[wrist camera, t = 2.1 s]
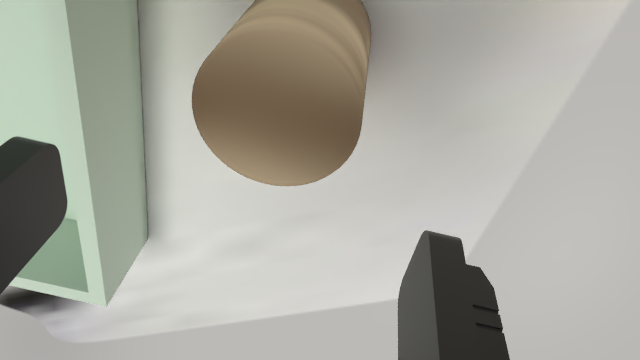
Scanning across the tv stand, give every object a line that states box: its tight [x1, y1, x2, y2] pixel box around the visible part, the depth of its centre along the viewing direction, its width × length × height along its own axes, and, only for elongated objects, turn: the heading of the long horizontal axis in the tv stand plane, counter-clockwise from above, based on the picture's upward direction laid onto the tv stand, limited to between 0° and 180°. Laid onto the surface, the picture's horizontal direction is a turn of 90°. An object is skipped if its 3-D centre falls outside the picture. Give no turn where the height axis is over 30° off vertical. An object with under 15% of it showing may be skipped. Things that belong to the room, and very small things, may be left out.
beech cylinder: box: [192, 0, 371, 186], centre depth 17 cm, size 5×5×7 cm
